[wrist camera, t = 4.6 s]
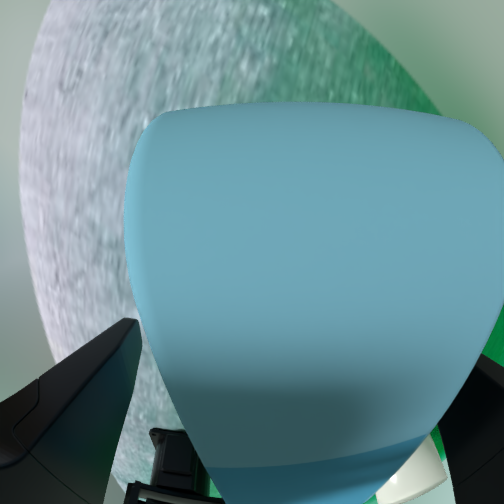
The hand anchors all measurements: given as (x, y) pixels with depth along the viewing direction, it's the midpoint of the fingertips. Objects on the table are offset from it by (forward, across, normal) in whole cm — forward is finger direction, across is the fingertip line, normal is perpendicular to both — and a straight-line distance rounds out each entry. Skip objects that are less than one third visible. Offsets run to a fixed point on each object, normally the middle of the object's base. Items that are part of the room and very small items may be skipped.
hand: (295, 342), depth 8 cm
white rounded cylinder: (+8, -13, +16) cm, 22 cm away
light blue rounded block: (+8, 0, 0) cm, 8 cm away
